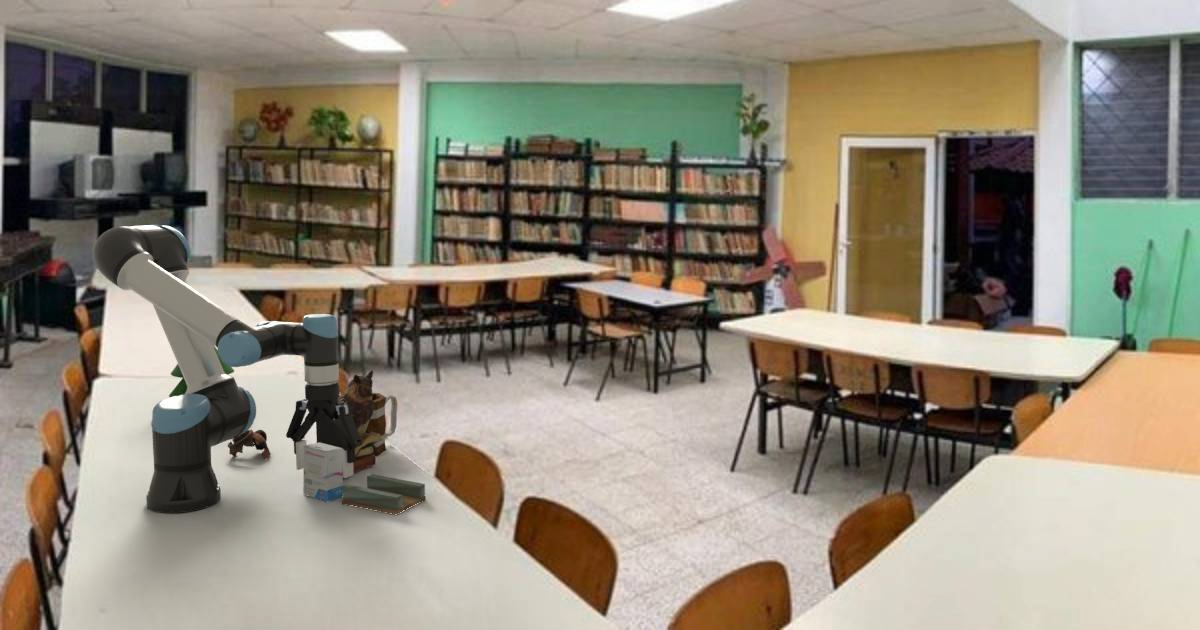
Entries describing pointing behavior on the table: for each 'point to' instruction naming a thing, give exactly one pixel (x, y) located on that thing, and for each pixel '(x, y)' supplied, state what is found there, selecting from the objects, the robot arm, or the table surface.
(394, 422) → the mug
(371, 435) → the bookend
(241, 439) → the brown carved ornament
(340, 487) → the ink box
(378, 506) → the track
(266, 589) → the table surface
